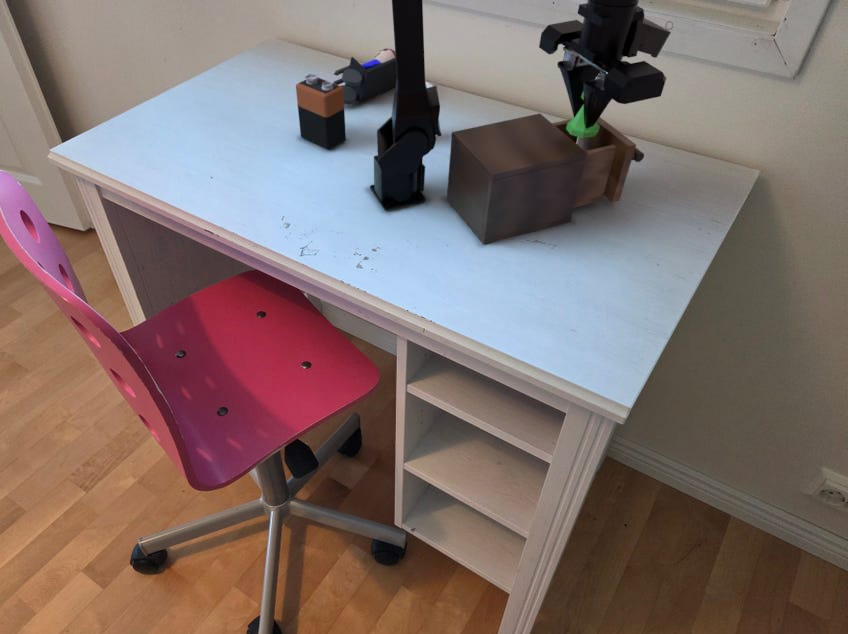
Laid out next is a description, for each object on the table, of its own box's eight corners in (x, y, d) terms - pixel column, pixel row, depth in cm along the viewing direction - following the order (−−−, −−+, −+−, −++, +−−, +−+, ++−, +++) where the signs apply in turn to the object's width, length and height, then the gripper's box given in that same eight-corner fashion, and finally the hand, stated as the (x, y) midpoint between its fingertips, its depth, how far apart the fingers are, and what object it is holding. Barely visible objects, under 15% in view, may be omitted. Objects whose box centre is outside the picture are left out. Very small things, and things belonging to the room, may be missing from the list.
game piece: (582, 141, 87) (593, 97, 82) (559, 128, 89) (568, 85, 85) (605, 132, 88) (616, 88, 84) (581, 119, 91) (591, 76, 86)
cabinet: (527, 180, 98) (540, 113, 91) (570, 222, 91) (587, 152, 83) (446, 199, 95) (451, 131, 87) (483, 244, 88) (492, 175, 80)
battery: (318, 128, 111) (313, 68, 103) (347, 141, 107) (344, 80, 100) (299, 138, 108) (293, 78, 101) (328, 151, 105) (324, 90, 98)
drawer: (601, 160, 100) (616, 104, 94) (643, 195, 93) (663, 138, 87) (505, 183, 96) (514, 127, 90) (542, 221, 90) (554, 163, 83)
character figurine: (327, 104, 117) (388, 79, 124) (353, 115, 113) (415, 88, 120) (322, 58, 112) (386, 35, 118) (349, 68, 108) (414, 43, 114)
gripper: (724, 15, 73) (678, 144, 84) (622, -34, 84) (593, 84, 96) (641, 30, 70) (605, 161, 81) (548, -22, 82) (527, 98, 93)
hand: (583, 123), depth 88 cm, fingers closed on game piece, 2 cm apart
